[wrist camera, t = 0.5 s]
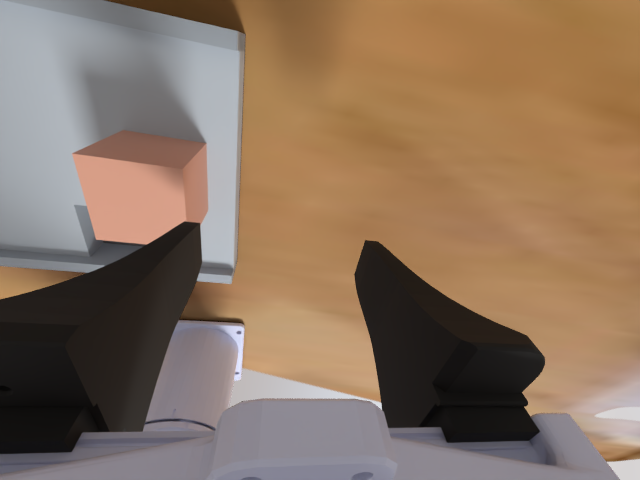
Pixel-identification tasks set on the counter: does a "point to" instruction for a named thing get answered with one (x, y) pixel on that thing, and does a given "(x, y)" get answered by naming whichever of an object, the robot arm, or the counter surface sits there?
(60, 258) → the trap board
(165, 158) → the block
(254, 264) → the counter surface
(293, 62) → the counter surface
